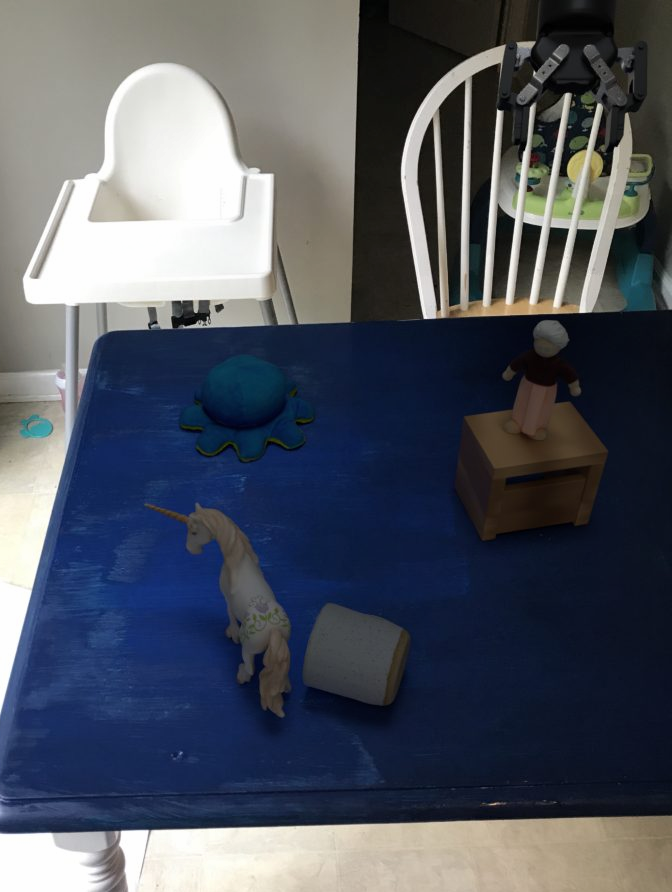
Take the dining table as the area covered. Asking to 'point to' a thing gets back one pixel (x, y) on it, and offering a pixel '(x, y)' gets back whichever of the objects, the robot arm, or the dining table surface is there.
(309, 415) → the plush toy
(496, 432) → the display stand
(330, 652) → the grey cylinder
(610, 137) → the robot arm
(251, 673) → the unicorn figurine
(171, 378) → the dining table surface
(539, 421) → the grandmother figurine
